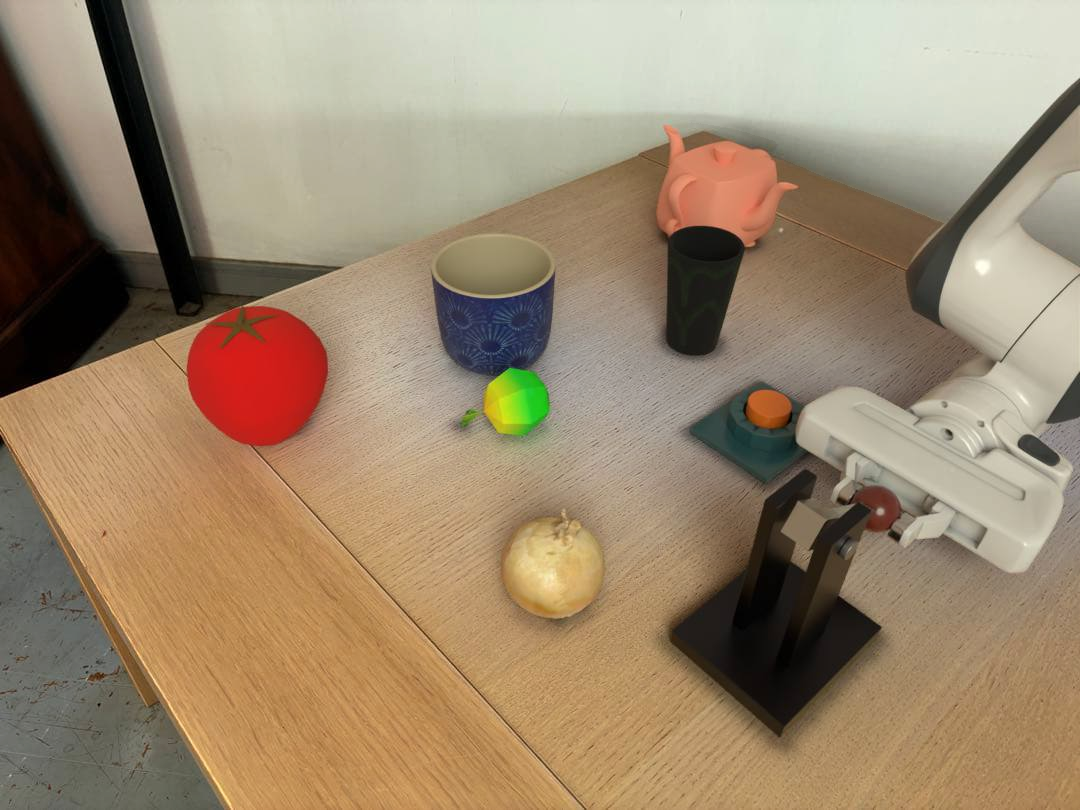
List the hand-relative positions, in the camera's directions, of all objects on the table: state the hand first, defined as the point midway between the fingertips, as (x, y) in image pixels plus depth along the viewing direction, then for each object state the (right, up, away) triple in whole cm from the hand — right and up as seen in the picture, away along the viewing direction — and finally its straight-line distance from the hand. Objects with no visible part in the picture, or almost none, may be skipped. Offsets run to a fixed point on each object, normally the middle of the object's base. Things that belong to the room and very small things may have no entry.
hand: (868, 518), depth 62 cm
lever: (-4, -1, -4) cm, 5 cm away
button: (-3, +8, +16) cm, 18 cm away
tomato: (-51, +6, +18) cm, 54 cm away
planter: (-29, +14, +27) cm, 42 cm away
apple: (-28, +6, +17) cm, 33 cm away
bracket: (-7, -9, -1) cm, 12 cm away
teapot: (-2, +30, +46) cm, 55 cm away
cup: (-8, +15, +29) cm, 34 cm away
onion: (-24, -6, +3) cm, 25 cm away
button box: (-3, +6, +17) cm, 18 cm away
